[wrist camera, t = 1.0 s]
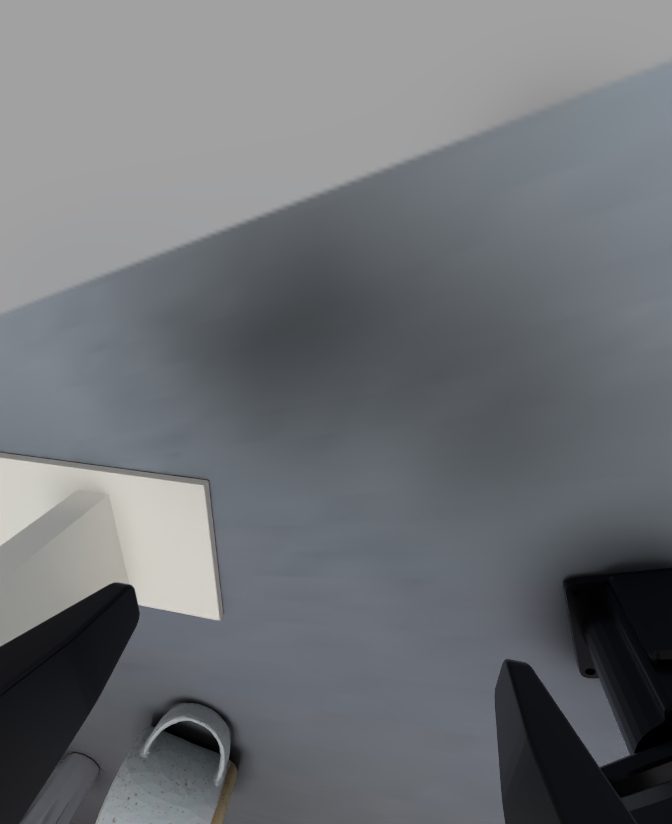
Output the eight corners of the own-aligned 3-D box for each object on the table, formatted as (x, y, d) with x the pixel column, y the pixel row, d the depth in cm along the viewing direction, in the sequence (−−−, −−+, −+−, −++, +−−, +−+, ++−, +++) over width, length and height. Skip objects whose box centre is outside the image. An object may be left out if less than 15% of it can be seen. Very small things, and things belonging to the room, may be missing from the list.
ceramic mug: (236, 791, 34) (189, 930, 27) (147, 757, 35) (79, 884, 28) (256, 717, 30) (207, 859, 23) (154, 680, 31) (76, 807, 24)
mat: (208, 480, 22) (203, 485, 22) (223, 614, 26) (219, 620, 26) (-90, 440, 26) (-99, 444, 25) (-37, 564, 30) (-44, 569, 29)
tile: (108, 494, 23) (-58, 629, 15) (129, 586, 26) (-3, 742, 18) (74, 488, 24) (-107, 618, 16) (98, 580, 27) (-45, 731, 18)
